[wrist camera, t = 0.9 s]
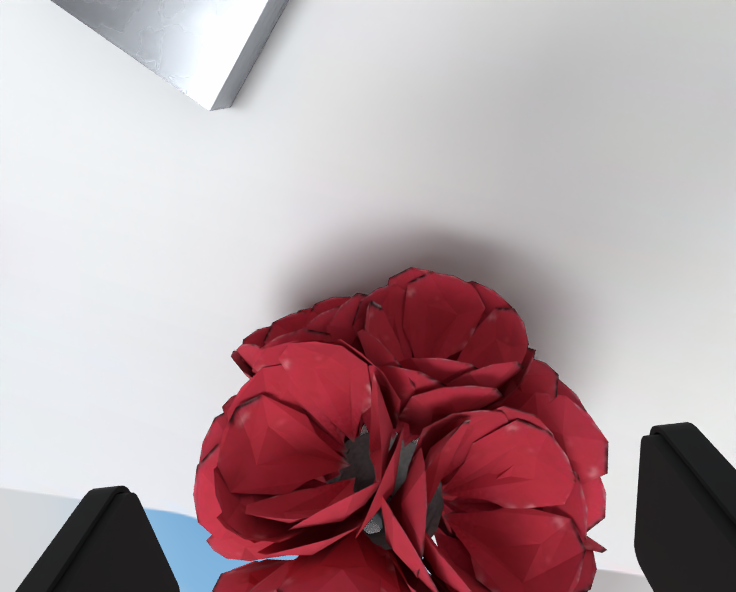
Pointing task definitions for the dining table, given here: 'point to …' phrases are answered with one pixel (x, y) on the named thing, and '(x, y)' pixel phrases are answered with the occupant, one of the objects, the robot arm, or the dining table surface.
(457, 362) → the bouquet
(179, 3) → the block
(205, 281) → the dining table surface
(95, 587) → the robot arm
